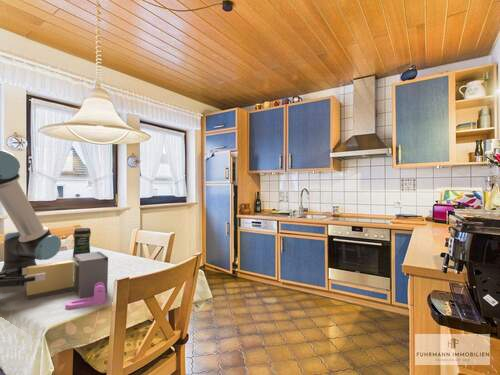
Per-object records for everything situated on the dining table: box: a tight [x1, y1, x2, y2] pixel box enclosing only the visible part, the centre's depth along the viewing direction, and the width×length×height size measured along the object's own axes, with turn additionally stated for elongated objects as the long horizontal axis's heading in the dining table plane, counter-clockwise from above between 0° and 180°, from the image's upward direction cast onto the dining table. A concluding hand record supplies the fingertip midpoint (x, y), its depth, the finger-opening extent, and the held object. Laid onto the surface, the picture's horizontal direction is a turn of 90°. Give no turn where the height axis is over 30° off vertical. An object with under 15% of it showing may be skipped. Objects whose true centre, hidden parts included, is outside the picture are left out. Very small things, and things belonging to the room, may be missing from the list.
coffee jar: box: [72, 227, 92, 258], centre depth 175 cm, size 10×8×19 cm
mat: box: [24, 283, 76, 301], centre depth 117 cm, size 12×18×1 cm, turn 133°
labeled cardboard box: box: [25, 259, 74, 297], centre depth 116 cm, size 4×16×11 cm, turn 133°
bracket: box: [64, 282, 106, 310], centre depth 104 cm, size 13×6×7 cm, turn 121°
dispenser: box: [73, 251, 109, 299], centre depth 117 cm, size 14×11×15 cm
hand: (43, 272), depth 114 cm, fingers open, 13 cm apart
